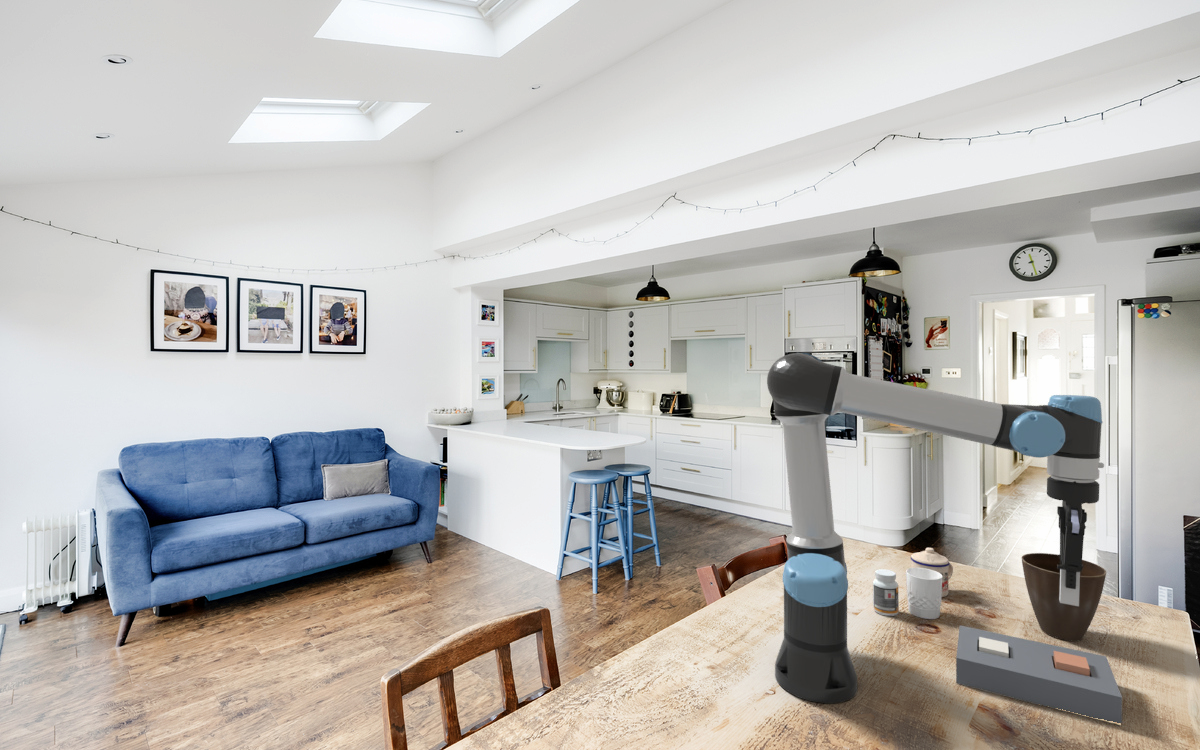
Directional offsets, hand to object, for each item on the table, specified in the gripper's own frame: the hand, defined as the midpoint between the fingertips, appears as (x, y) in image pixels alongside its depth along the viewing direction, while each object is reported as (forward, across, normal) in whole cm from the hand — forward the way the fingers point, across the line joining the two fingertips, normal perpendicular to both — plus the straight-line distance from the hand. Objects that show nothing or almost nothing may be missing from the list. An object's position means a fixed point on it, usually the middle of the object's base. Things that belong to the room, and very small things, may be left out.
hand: (1069, 603), depth 107 cm
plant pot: (+17, +28, -2) cm, 33 cm away
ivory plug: (+17, 0, +11) cm, 21 cm away
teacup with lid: (+17, +40, +24) cm, 50 cm away
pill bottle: (+18, +19, +33) cm, 42 cm away
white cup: (+18, +23, +25) cm, 38 cm away
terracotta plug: (+17, 0, -1) cm, 17 cm away
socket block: (+17, 0, +5) cm, 18 cm away
